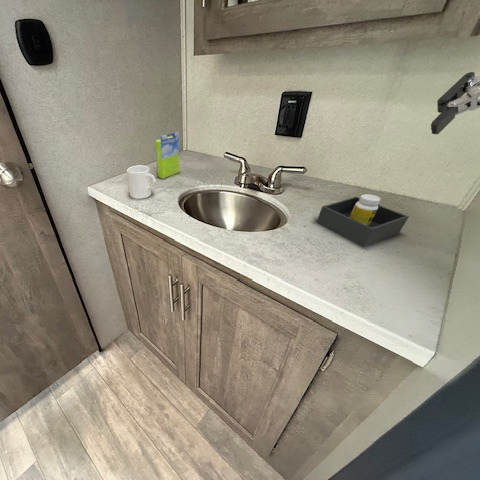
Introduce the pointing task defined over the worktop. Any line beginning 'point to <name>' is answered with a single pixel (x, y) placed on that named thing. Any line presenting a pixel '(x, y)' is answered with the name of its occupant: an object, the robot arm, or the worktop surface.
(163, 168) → the box
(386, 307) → the worktop surface
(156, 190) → the worktop surface
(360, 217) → the supplement bottle
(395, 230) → the bin
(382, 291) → the worktop surface
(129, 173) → the mug
